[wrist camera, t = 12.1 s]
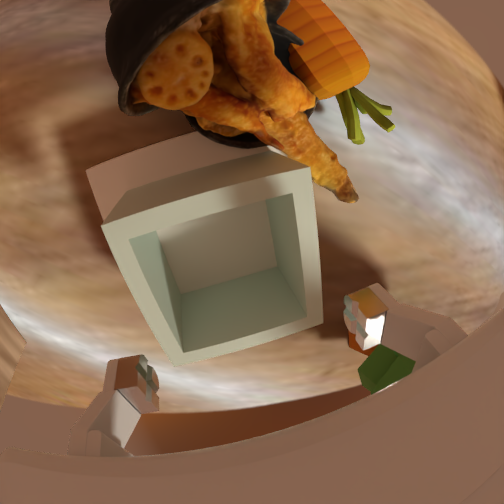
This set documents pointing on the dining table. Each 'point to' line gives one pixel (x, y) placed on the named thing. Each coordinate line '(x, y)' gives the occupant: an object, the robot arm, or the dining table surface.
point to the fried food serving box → (8, 352)
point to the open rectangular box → (213, 243)
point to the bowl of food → (221, 76)
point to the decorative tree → (381, 365)
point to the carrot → (331, 63)
